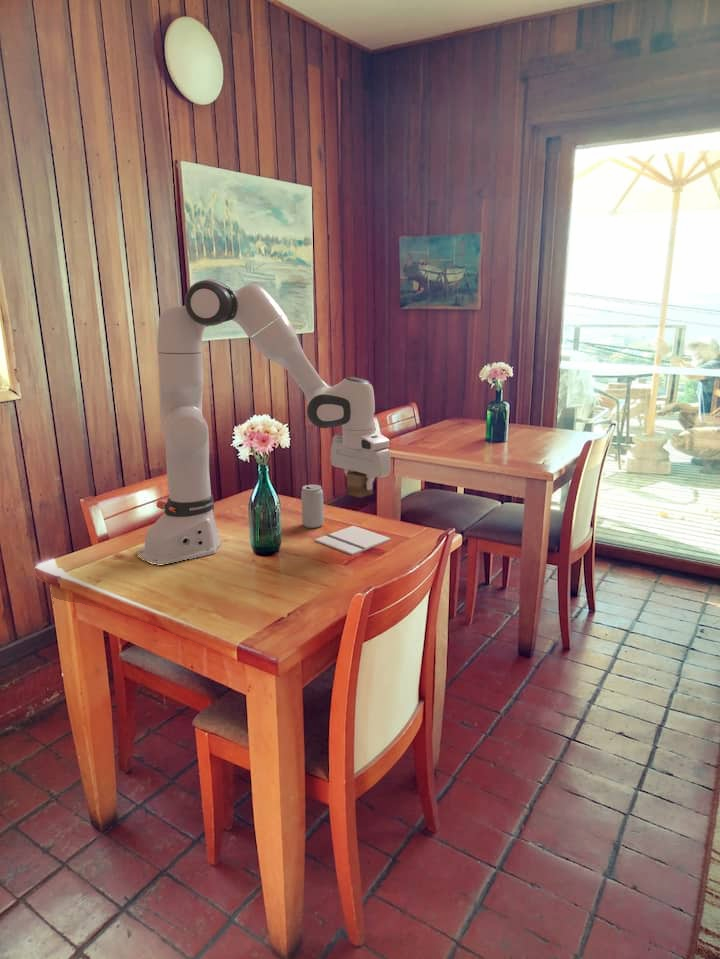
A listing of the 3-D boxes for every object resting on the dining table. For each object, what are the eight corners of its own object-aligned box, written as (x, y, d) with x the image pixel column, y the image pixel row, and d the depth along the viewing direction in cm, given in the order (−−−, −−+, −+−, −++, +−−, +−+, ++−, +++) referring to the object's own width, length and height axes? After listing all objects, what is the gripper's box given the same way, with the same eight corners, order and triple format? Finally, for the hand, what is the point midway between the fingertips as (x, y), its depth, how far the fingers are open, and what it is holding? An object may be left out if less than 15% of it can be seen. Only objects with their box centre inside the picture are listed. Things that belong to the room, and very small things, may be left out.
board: (352, 555, 174) (352, 552, 174) (315, 540, 184) (315, 538, 184) (390, 539, 184) (390, 537, 184) (353, 527, 194) (353, 525, 194)
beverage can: (299, 523, 198) (297, 485, 195) (319, 520, 200) (318, 482, 197) (306, 530, 192) (305, 491, 189) (327, 526, 195) (326, 488, 192)
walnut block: (360, 497, 178) (359, 476, 177) (347, 494, 182) (346, 473, 180) (372, 493, 182) (372, 472, 180) (360, 490, 185) (359, 469, 184)
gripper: (324, 434, 182) (326, 482, 186) (377, 445, 168) (378, 496, 172) (341, 430, 187) (342, 477, 190) (394, 441, 173) (394, 491, 176)
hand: (359, 486), depth 181 cm, fingers closed on walnut block, 5 cm apart
